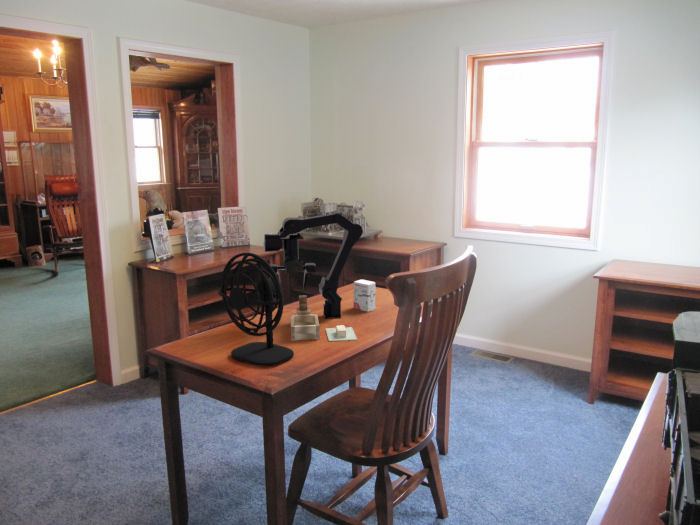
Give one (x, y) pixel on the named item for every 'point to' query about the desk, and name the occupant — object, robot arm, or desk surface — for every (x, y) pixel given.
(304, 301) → the brown l-shaped block
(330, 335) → the lid
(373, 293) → the ink box
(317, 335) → the beige piece
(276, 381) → the desk surface
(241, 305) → the desk fan
